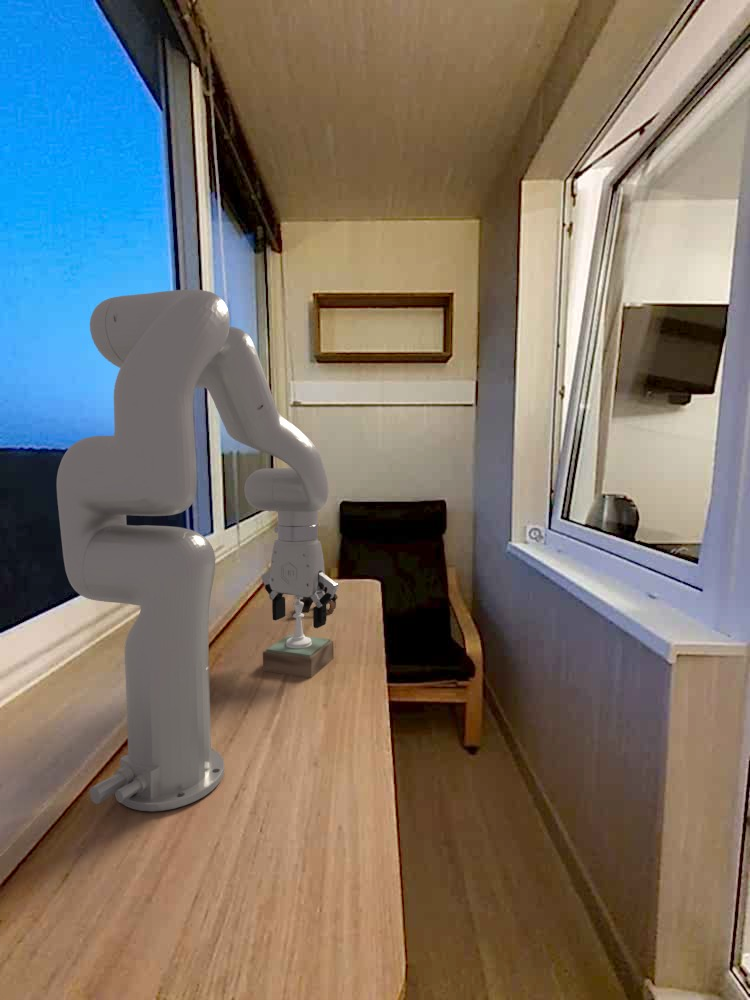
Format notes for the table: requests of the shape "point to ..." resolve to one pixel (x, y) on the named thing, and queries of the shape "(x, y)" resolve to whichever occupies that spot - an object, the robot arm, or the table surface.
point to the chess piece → (298, 628)
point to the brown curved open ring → (309, 601)
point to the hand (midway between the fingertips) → (298, 622)
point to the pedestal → (298, 657)
